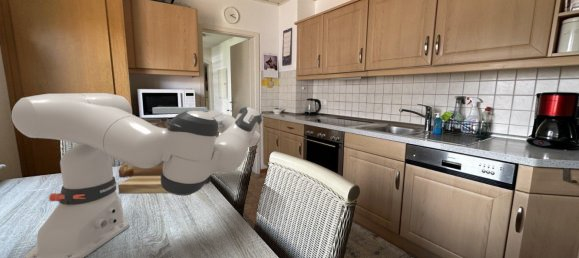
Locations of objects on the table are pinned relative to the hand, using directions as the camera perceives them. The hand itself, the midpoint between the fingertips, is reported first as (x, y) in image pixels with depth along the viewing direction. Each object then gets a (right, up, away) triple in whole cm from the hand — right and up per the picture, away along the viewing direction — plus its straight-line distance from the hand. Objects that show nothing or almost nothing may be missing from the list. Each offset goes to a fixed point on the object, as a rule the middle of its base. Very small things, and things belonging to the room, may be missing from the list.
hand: (198, 109), depth 109 cm
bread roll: (-35, -31, +10) cm, 48 cm away
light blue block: (-8, -2, 0) cm, 8 cm away
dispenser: (-21, -31, +4) cm, 38 cm away
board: (-14, -33, -7) cm, 37 cm away
